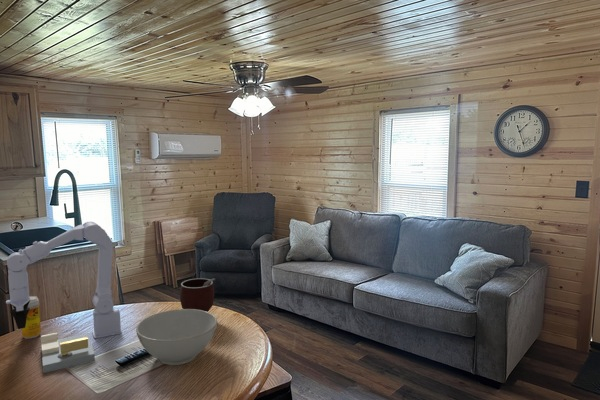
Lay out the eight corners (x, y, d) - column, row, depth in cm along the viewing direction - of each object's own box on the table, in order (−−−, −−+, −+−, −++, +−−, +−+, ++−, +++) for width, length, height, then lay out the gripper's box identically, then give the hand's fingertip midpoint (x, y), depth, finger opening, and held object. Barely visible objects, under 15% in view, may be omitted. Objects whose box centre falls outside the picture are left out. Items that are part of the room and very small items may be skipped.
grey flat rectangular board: (88, 339, 158) (88, 333, 157) (94, 360, 142) (94, 353, 142) (41, 349, 150) (41, 342, 149) (43, 373, 134) (42, 365, 134)
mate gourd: (173, 326, 170) (172, 278, 168) (193, 314, 183) (192, 270, 181) (206, 332, 165) (205, 283, 163) (224, 319, 178) (223, 273, 176)
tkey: (87, 348, 145) (87, 337, 144) (88, 350, 143) (87, 339, 143) (60, 354, 140) (60, 342, 140) (61, 356, 139) (60, 344, 138)
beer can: (32, 340, 157) (29, 301, 155) (18, 338, 158) (15, 300, 157) (44, 333, 163) (42, 296, 161) (31, 331, 164) (29, 295, 162)
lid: (57, 341, 150) (57, 332, 150) (59, 351, 143) (58, 341, 143) (41, 345, 147) (40, 335, 147) (42, 354, 140) (41, 344, 140)
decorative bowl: (119, 367, 138) (117, 332, 136) (172, 334, 163) (171, 304, 161) (186, 384, 128) (185, 346, 127) (231, 346, 153) (231, 315, 151)
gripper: (6, 283, 150) (9, 319, 151) (3, 295, 138) (7, 334, 139) (29, 280, 154) (32, 315, 155) (29, 291, 141) (32, 329, 143)
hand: (21, 324), depth 147 cm, fingers open, 7 cm apart
